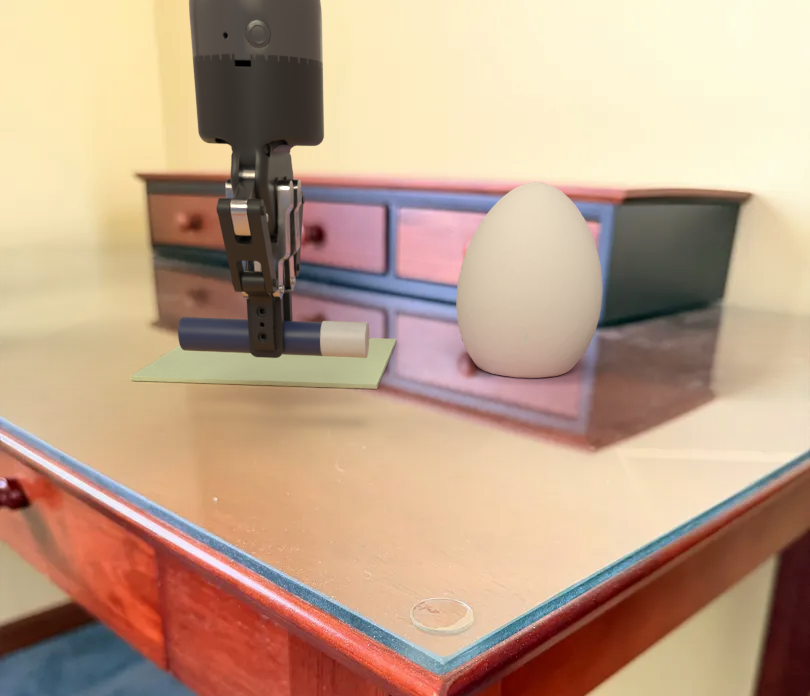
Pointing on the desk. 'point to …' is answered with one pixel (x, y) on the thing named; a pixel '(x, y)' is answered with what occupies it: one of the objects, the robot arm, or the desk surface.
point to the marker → (297, 337)
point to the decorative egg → (530, 285)
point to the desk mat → (271, 368)
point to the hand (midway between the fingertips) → (272, 350)
